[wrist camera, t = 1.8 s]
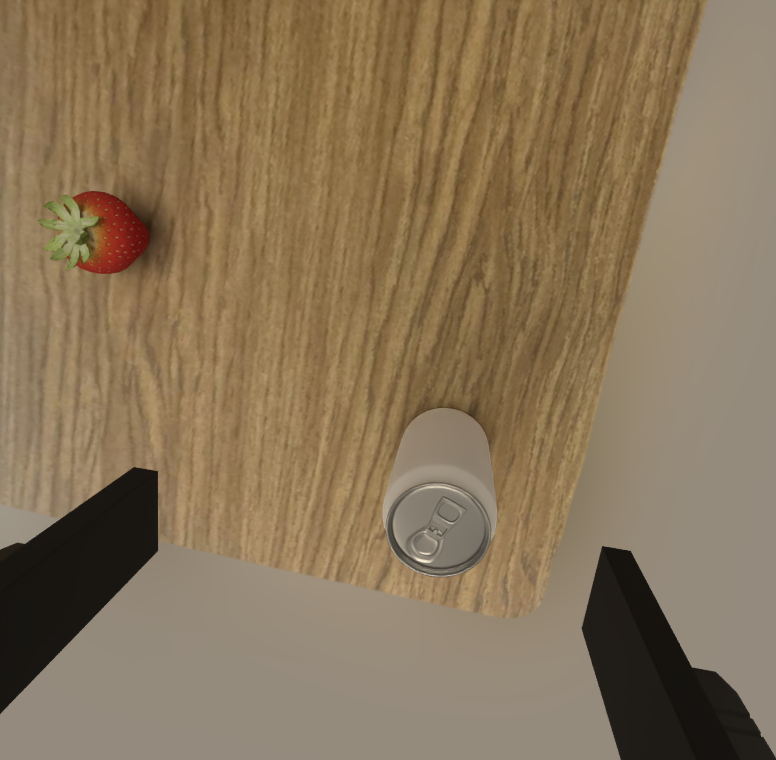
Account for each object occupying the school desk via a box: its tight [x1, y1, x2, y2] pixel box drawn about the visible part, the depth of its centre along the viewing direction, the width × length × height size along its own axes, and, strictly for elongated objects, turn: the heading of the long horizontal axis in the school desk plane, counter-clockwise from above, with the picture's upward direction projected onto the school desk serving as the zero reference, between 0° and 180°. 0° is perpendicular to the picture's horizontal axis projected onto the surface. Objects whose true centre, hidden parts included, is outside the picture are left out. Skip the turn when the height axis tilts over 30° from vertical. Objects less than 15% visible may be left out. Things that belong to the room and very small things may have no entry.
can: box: [383, 408, 497, 577], centre depth 35 cm, size 6×6×12 cm
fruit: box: [38, 191, 150, 274], centre depth 36 cm, size 5×5×8 cm
